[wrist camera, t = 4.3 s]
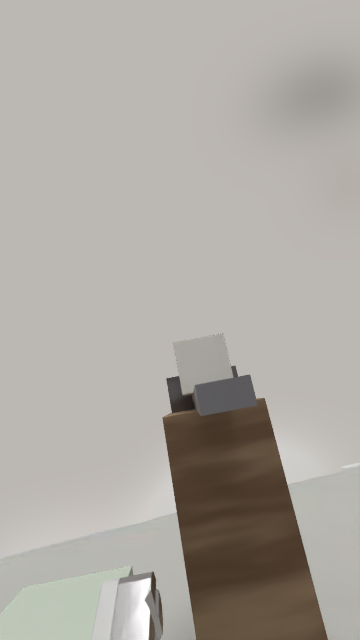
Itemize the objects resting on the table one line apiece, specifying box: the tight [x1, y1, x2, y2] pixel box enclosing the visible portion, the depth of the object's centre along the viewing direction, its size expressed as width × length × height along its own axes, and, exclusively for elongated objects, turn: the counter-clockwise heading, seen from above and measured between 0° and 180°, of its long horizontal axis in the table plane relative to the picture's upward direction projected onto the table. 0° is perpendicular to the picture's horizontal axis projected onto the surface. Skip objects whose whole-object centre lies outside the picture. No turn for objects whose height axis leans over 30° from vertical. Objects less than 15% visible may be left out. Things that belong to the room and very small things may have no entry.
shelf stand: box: [163, 366, 328, 640], centre depth 26 cm, size 12×9×29 cm
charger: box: [173, 334, 258, 416], centre depth 23 cm, size 17×5×7 cm, turn 178°
